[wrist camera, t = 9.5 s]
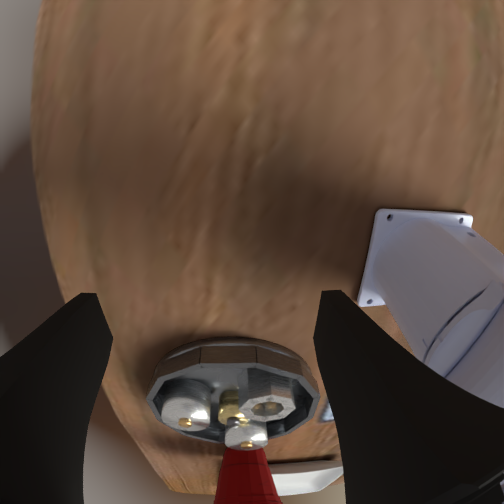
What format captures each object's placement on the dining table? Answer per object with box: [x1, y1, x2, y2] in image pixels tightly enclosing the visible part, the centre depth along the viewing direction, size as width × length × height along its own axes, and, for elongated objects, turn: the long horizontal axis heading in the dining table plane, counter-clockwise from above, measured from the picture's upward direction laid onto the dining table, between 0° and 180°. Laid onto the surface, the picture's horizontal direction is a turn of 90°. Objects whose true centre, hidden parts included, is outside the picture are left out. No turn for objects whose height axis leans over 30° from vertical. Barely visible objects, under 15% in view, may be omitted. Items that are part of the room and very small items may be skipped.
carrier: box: [146, 337, 320, 450], centre depth 25 cm, size 16×16×5 cm
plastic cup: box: [214, 447, 283, 504], centre depth 30 cm, size 11×11×12 cm
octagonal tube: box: [238, 368, 296, 422], centre depth 23 cm, size 4×4×3 cm
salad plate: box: [268, 460, 343, 496], centre depth 43 cm, size 21×21×3 cm
